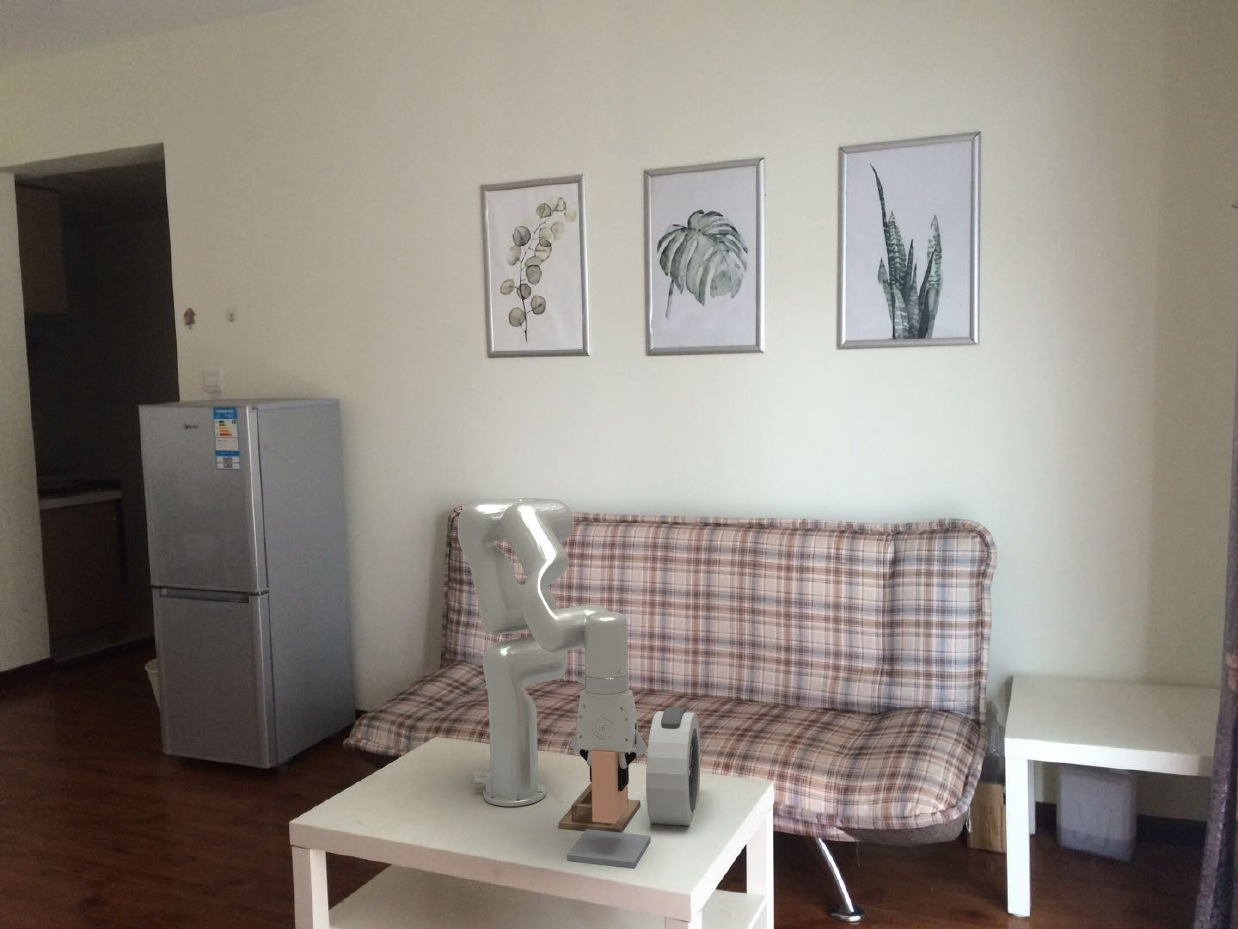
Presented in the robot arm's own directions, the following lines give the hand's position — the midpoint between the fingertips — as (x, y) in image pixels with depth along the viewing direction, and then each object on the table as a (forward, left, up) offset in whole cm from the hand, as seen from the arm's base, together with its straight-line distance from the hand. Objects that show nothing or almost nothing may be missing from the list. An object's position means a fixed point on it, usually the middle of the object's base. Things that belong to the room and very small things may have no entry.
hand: (609, 786), depth 173 cm
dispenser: (-6, +14, -11) cm, 19 cm away
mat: (0, 0, -11) cm, 11 cm away
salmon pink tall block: (0, 0, -5) cm, 5 cm away
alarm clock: (+7, +20, -12) cm, 24 cm away
